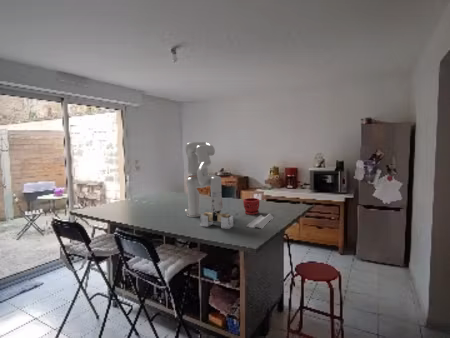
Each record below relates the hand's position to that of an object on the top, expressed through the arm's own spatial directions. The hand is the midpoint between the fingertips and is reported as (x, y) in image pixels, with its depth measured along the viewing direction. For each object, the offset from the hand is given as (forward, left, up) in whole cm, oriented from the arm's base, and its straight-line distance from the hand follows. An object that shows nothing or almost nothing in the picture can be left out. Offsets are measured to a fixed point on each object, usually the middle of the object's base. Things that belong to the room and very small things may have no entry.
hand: (216, 219), depth 195 cm
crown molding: (+26, +20, -5) cm, 33 cm away
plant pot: (+11, +44, -5) cm, 46 cm away
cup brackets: (0, 0, -4) cm, 4 cm away
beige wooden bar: (0, 0, -1) cm, 1 cm away
